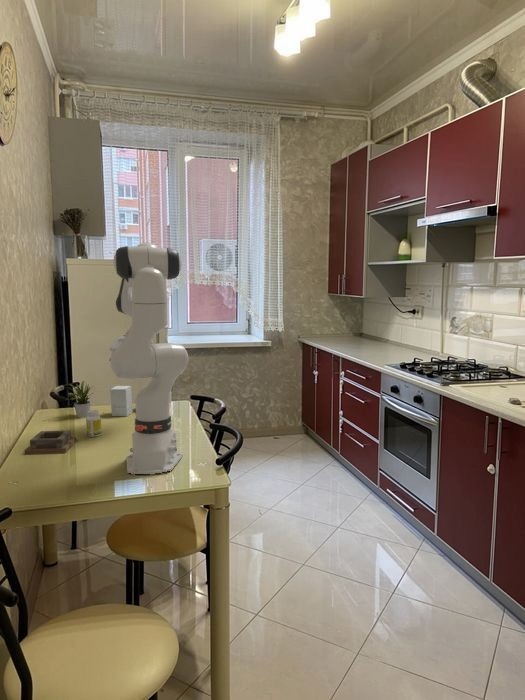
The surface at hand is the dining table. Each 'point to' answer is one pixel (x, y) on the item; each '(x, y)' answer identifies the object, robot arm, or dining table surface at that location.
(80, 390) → the house plant
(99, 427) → the supplement bottle
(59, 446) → the socket holder
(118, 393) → the supplement box
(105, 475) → the dining table surface
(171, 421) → the robot arm
